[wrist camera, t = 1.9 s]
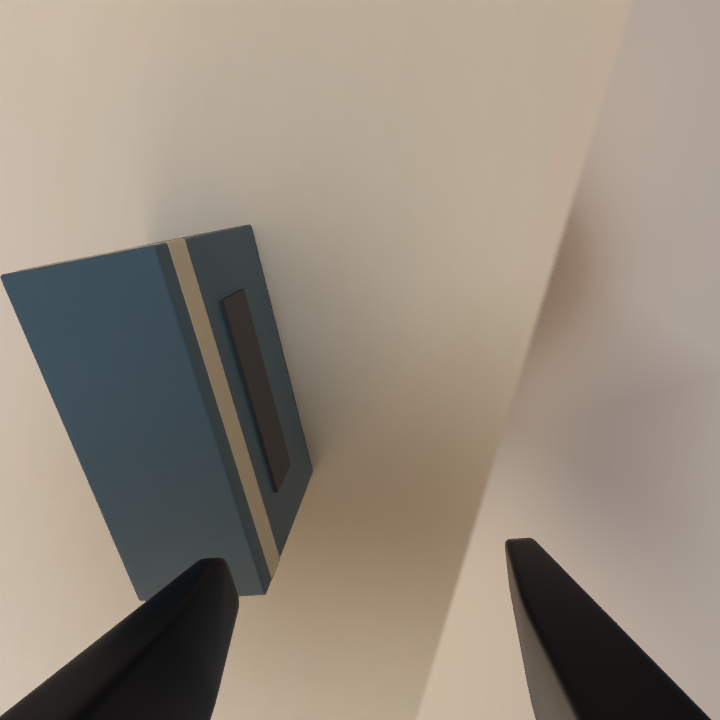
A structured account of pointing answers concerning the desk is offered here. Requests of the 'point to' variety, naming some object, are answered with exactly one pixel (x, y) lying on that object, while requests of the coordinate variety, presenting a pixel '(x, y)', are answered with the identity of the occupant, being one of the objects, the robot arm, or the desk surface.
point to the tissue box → (174, 401)
